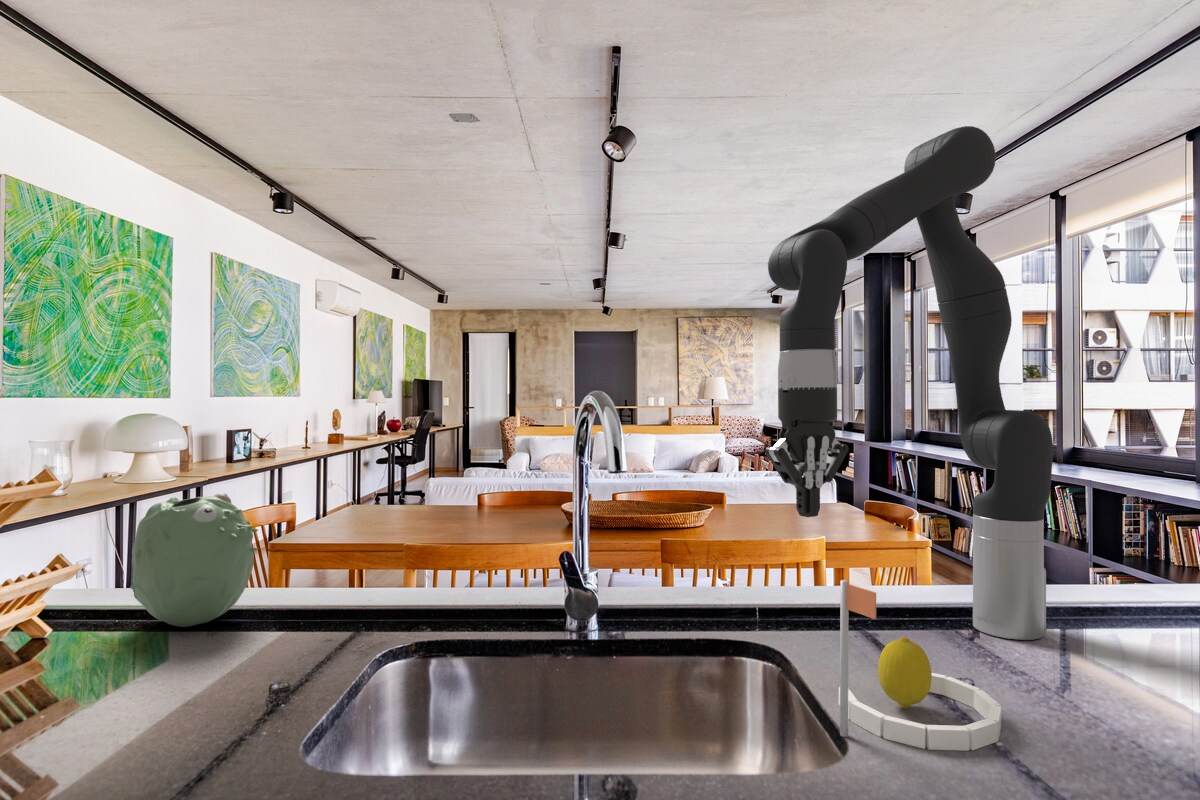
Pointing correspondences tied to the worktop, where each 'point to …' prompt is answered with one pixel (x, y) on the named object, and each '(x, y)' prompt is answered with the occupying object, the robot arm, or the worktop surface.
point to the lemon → (904, 672)
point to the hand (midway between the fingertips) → (808, 515)
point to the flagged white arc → (940, 684)
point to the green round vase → (192, 559)
